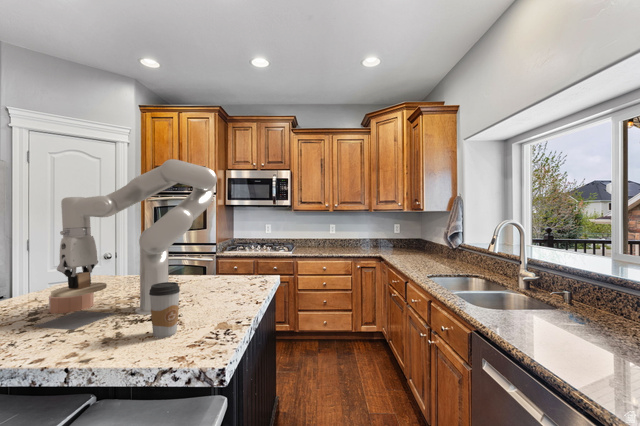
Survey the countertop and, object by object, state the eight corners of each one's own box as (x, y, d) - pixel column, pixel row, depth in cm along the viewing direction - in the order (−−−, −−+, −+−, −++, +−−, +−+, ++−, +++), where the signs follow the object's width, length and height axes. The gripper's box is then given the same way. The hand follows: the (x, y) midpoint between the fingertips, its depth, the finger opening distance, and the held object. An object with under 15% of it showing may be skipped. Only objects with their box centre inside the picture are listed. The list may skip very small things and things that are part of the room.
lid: (117, 285, 111) (116, 268, 111) (77, 297, 96) (76, 278, 96) (82, 285, 114) (81, 269, 114) (38, 296, 99) (37, 278, 99)
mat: (116, 315, 111) (116, 313, 111) (73, 331, 95) (73, 329, 95) (79, 312, 114) (79, 311, 114) (31, 328, 98) (31, 326, 98)
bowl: (101, 305, 123) (101, 290, 123) (69, 315, 111) (69, 298, 111) (74, 303, 126) (74, 288, 126) (39, 313, 113) (39, 297, 113)
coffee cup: (159, 342, 87) (159, 289, 87) (143, 336, 91) (143, 285, 91) (186, 332, 94) (185, 283, 94) (170, 327, 98) (169, 280, 98)
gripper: (61, 235, 96) (64, 293, 96) (107, 230, 112) (110, 280, 113) (41, 235, 97) (45, 293, 98) (90, 231, 114) (93, 280, 114)
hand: (79, 285), depth 105 cm, fingers closed on lid, 4 cm apart
